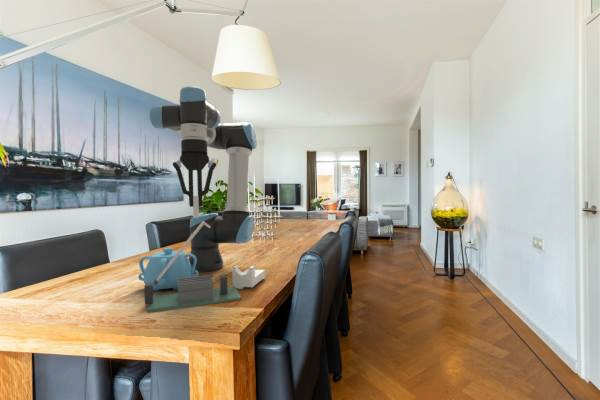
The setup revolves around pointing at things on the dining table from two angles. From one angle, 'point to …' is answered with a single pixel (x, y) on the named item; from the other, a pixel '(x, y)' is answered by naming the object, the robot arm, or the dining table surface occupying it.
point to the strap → (180, 251)
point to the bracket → (246, 277)
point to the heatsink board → (174, 300)
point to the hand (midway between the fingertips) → (196, 217)
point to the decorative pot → (175, 271)
